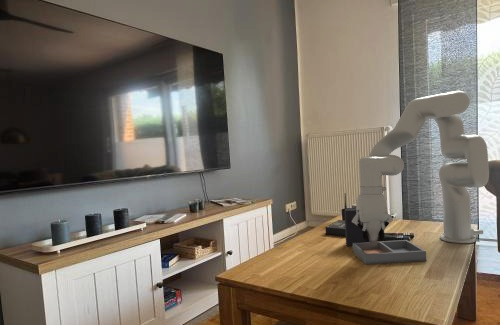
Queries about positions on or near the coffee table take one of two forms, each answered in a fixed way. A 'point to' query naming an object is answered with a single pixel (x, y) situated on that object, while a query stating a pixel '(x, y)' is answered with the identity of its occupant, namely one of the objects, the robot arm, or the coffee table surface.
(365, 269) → the coffee table surface
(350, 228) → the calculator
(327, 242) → the coffee table surface
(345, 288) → the coffee table surface
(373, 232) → the lightbulb
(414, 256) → the sorting tray
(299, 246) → the coffee table surface
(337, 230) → the wireless controller
